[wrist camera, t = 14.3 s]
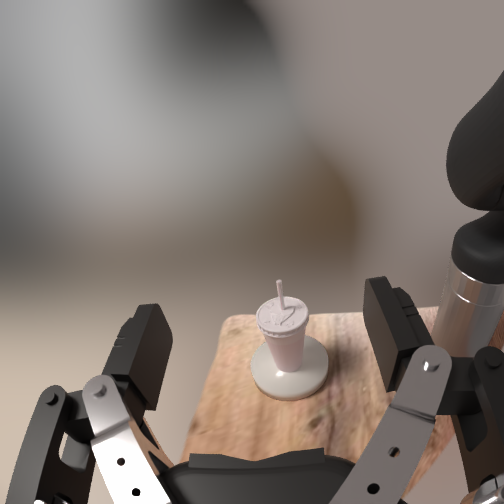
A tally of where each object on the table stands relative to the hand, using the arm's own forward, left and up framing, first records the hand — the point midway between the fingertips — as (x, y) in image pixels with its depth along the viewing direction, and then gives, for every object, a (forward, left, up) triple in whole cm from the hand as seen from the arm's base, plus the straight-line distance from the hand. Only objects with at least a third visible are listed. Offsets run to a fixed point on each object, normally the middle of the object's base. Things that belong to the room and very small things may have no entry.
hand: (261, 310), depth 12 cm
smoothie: (-13, -13, -27) cm, 33 cm away
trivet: (-13, -13, -29) cm, 35 cm away
